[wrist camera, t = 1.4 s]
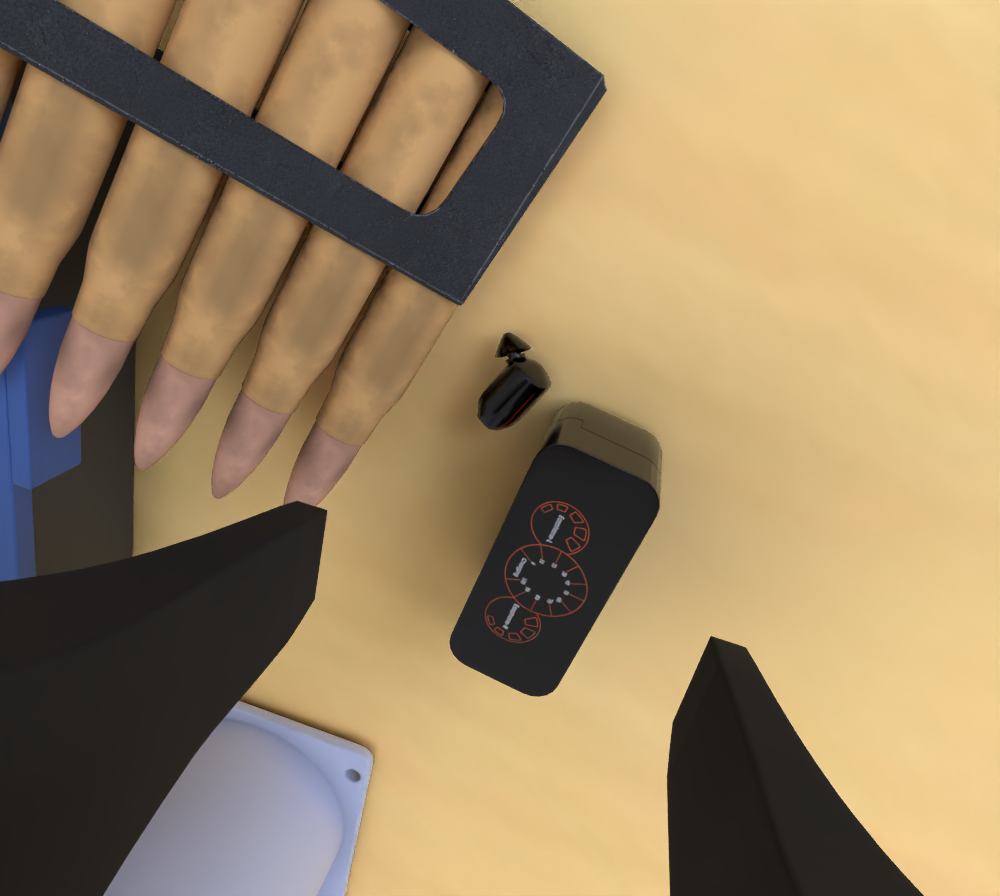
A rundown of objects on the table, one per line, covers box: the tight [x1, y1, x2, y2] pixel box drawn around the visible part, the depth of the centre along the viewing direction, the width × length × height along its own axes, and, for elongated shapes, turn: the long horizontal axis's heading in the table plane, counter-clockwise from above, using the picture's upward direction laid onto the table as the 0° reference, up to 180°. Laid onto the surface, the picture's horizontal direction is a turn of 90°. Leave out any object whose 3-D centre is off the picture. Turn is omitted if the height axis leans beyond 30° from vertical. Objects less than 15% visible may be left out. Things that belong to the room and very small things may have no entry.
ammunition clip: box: [0, 0, 607, 507], centre depth 14 cm, size 11×2×12 cm
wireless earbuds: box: [450, 333, 662, 696], centre depth 17 cm, size 5×7×3 cm, turn 158°
